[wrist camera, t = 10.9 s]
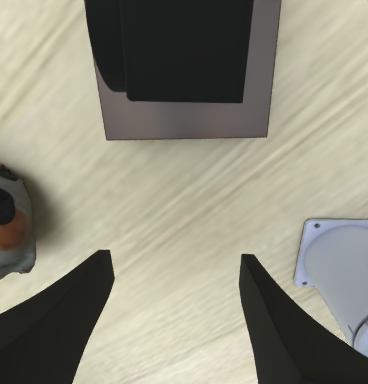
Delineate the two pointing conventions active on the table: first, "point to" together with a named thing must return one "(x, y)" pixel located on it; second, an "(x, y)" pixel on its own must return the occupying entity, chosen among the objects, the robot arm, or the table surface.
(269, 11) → the desk shelf
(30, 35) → the table surface
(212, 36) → the digital camera
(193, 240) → the table surface
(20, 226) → the lucky cat figurine
